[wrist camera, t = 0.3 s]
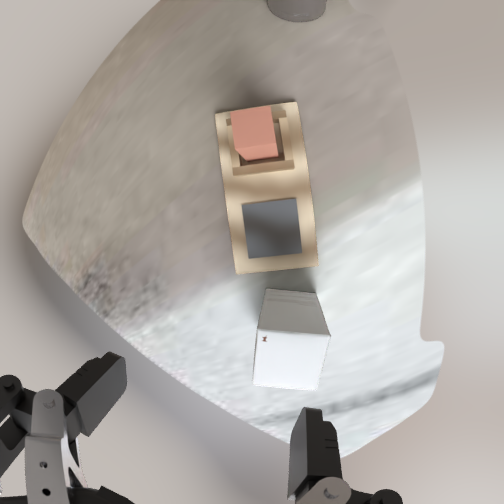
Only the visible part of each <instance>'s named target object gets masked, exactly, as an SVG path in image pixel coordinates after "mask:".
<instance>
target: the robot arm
mask: <svg viewBox="0 0 504 504" xmlns="http://www.w3.org/2000/svg"><path fill="white" fill-rule="evenodd" d="M267 1H268V7H269V9H270V11H271V12H272V13H273V14H275V15H276V16H278V17H280V18H282V19H285V20H288V21H294V22H307V21H311V20H314V19H317V18H319V17H320V16H321V15H322V14H323V13H324V11H325V7H326V1H327V0H267ZM126 386H127V376H126V364H125V359H124V357H121V356H119V355H117V354H114V353H112V352H107V353H106V354H105V355H104V356H103V357H102V358H101V359H100V358H98V357H97V358H94V359H92V360H89V361H87V362H86V363H85V364H84V365H83V366H81V368H80V369H78V370H77V371H76V373H74V374H73V375H72V376H70V377H69V378H68V379H67V380H66V381H65V382H64V383H63V384H61V385H60V386H59V387H58V388H57V389H56V390H55V391H54V390H51V389H45V390H41V391H39V392H34V391H31V390H28V389H26V388H23V387H22V384H21V382H20V380H19V379H18V378H17V377H16V376H13V375H4V376H2V377H0V423H1V422H2V421H3V419H4V418H5V417H6V416H7V415H8V414H9V415H10V417H9V418H8V419H7V420H6V421H5V422H4V424H3V425H2V426H1V427H0V478H1V476H2V475H3V473H4V472H5V471H6V470H7V469H8V467H9V466H10V464H11V463H12V462H13V461H14V460H15V458H16V457H17V456H18V455H19V453H20V452H21V451H22V450H23V448H24V447H25V476H26V489H27V495H26V496H14V497H0V504H134V503H133V502H131V501H130V500H128V499H127V498H126V497H123V496H121V495H119V494H117V493H115V492H113V491H111V490H109V489H107V488H105V487H103V486H101V487H100V489H99V490H97V489H92V488H88V486H87V483H86V480H85V477H84V475H83V471H82V465H81V459H80V453H79V446H78V438H77V436H78V435H79V434H80V432H81V433H83V434H84V435H86V436H88V437H89V436H90V435H91V433H92V432H93V431H94V429H95V428H96V427H97V426H98V424H99V423H100V422H101V421H102V419H103V418H104V417H105V416H106V414H107V413H108V412H109V411H110V409H111V408H112V407H113V406H114V404H115V403H116V402H117V401H118V399H119V398H120V397H121V395H122V394H123V393H124V391H125V389H126ZM337 440H338V439H337V432H336V429H335V428H334V426H333V425H332V423H331V422H329V421H323V417H322V410H321V409H315V408H307V407H304V408H303V409H302V411H301V413H300V415H299V417H298V420H297V422H296V424H295V426H294V428H293V430H292V434H291V439H290V461H289V462H290V463H289V480H288V496H287V499H288V500H295V504H403V502H402V498H401V496H400V495H399V494H398V493H397V492H395V491H393V490H389V489H383V490H380V491H377V492H376V493H375V494H374V495H373V494H368V493H363V492H359V491H356V490H353V489H351V488H350V486H349V485H348V484H347V482H346V481H344V480H343V478H342V471H341V463H340V454H339V449H338V448H339V447H338V442H337ZM1 493H2V488H1V481H0V494H1Z"/></svg>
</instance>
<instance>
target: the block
mask: <svg viewBox="0 0 504 504" xmlns="http://www.w3.org/2000/svg"><path fill="white" fill-rule="evenodd" d="M230 116H231V123H232V131H233V139H234V146H235V150H236V151H237V152H238V153H239V154H240V155H241V156H242V157H243V158H244V159H245V160H246V161H247V162H251V161H257V160H265V159H272V158H279V157H278V150H277V143H276V136H275V130H274V124H273V118H272V113H271V107H270V106H264V107H257V108H250V109H244V110H238V111H233V112H230Z"/></svg>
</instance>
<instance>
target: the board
mask: <svg viewBox="0 0 504 504" xmlns="http://www.w3.org/2000/svg"><path fill="white" fill-rule="evenodd" d="M265 106H270V107H271V113H272V118H273V124H274V130H275V136H276V143H277V150H278V157H279V158H272V159H265V160H257V161H251V162H247V161H246V160H245V159H244V158H243V157H242V156H241V155H240V154H239V153H238V152H237V151H236V150H235V146H234V139H233V131H232V123H231V116H230V112H233V111H238V110H233V111H228V112H223V113H218V114H215V119H216V127H217V136H218V144H219V152H220V160H221V168H222V176H223V183H224V191H225V198H226V206H227V213H228V220H229V228H230V235H231V242H232V249H233V256H234V263H235V269H236V274H246V273H256V272H266V271H276V270H286V269H295V268H305V267H314V266H319V265H318V253H317V242H316V231H315V222H314V213H313V204H312V196H311V188H310V180H309V173H308V166H307V159H306V153H305V146H304V140H303V134H302V128H301V123H300V117H299V111H298V106H297V102H290V103H280V104H272V105H265ZM258 107H264V106H258ZM251 108H257V107H251ZM245 109H250V108H245ZM239 110H244V109H239Z"/></svg>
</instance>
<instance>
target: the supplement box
mask: <svg viewBox="0 0 504 504" xmlns="http://www.w3.org/2000/svg"><path fill="white" fill-rule="evenodd" d="M330 339H331V335H330V333H329V330H328V327H327V324H326V321H325V318H324V315H323V312H322V309H321V306H320V303H319V300H318V297H317V294H316V293H308V292H298V291H288V290H278V289H268V288H266V291H265V296H264V300H263V305H262V309H261V313H260V318H259V322H258V326H257V333H256V343H255V354H254V367H253V382H252V384H253V385H257V386H266V387H276V388H287V389H300V390H317V386H318V382H319V378H320V375H321V372H322V368H323V365H324V361H325V357H326V354H327V350H328V346H329V342H330Z"/></svg>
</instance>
